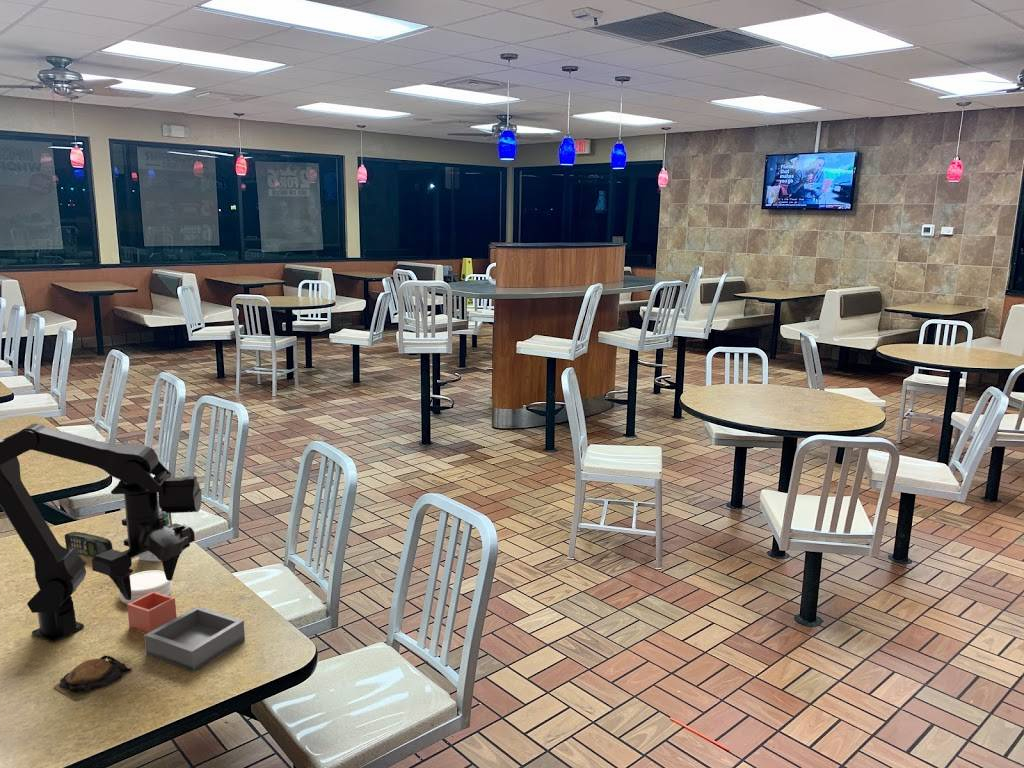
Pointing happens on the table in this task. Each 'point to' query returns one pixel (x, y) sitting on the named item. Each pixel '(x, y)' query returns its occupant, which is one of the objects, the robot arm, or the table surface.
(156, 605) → the small crate
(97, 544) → the mobile phone
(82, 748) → the table surface
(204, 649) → the big crate
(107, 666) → the bread roll
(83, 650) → the table surface
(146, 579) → the white round container
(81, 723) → the table surface
